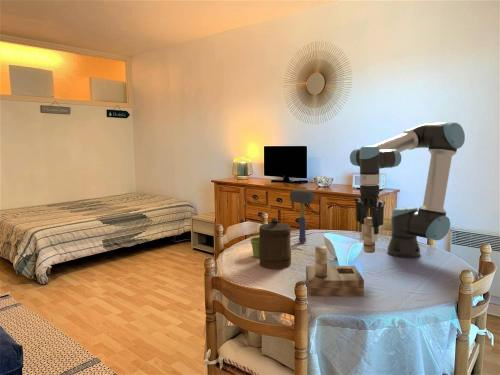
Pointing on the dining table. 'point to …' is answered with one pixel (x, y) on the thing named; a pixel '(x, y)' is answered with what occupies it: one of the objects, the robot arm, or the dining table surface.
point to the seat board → (332, 278)
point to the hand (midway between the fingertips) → (369, 240)
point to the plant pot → (255, 246)
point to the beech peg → (368, 236)
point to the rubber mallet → (302, 208)
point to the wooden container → (275, 245)
